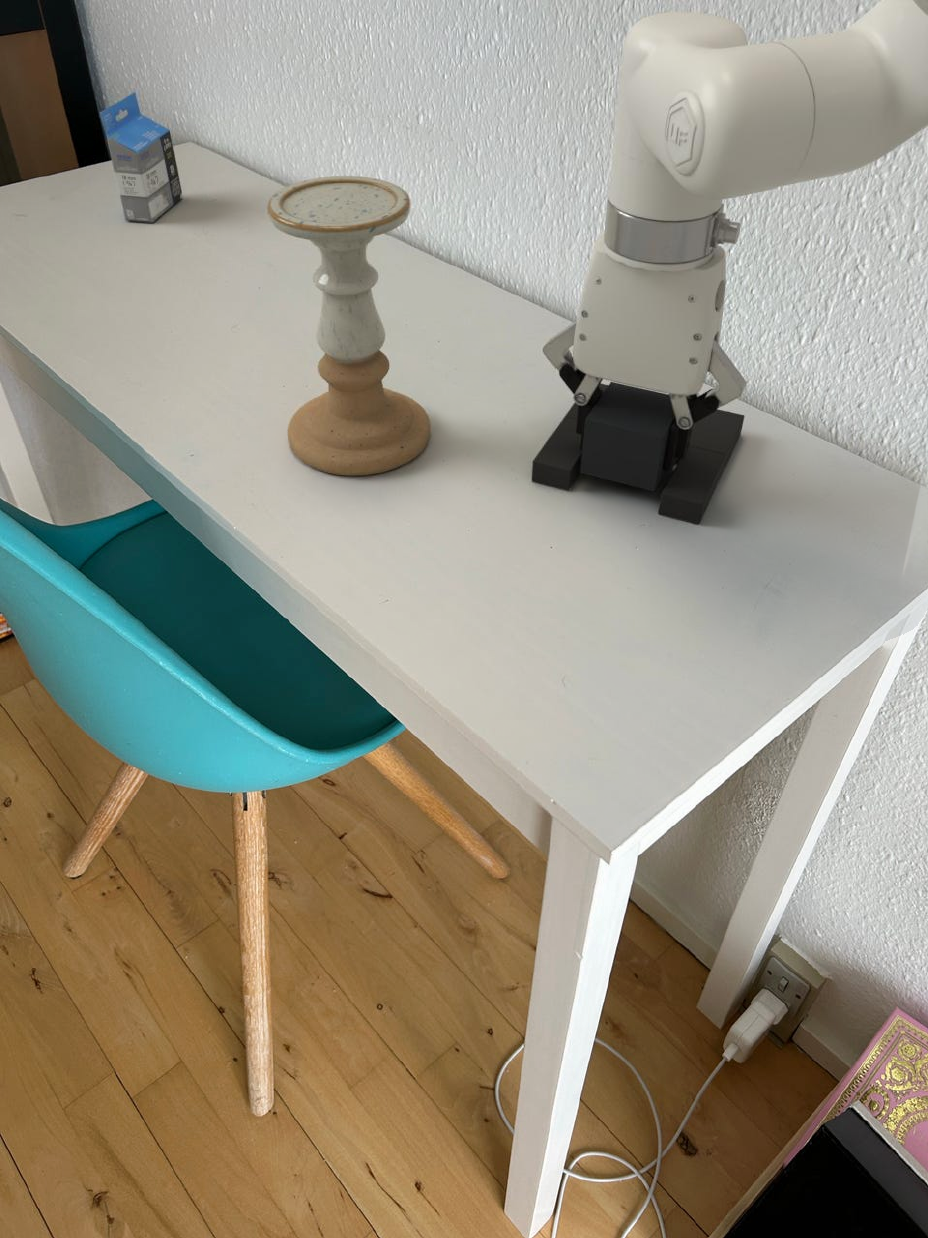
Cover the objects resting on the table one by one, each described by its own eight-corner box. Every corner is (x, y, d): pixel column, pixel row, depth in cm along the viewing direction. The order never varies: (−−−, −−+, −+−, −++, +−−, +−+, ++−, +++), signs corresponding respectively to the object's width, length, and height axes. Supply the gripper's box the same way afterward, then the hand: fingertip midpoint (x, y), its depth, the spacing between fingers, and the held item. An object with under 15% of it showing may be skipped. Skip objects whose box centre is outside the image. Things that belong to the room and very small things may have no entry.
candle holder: (275, 474, 81) (234, 230, 67) (303, 397, 90) (273, 168, 76) (423, 480, 80) (413, 235, 66) (437, 402, 89) (431, 171, 75)
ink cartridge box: (153, 224, 119) (129, 115, 111) (124, 221, 120) (98, 112, 112) (184, 197, 126) (164, 92, 117) (156, 195, 126) (134, 90, 118)
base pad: (740, 434, 85) (745, 414, 83) (698, 525, 76) (703, 504, 74) (588, 400, 89) (590, 380, 88) (531, 481, 80) (532, 460, 79)
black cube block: (676, 451, 80) (685, 397, 77) (654, 492, 76) (663, 437, 73) (604, 434, 82) (610, 381, 79) (579, 473, 78) (584, 418, 75)
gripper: (800, 229, 66) (747, 453, 78) (560, 190, 71) (546, 406, 84) (777, 272, 61) (725, 504, 73) (521, 227, 66) (513, 450, 79)
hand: (630, 450), depth 78 cm, fingers closed on black cube block, 6 cm apart
